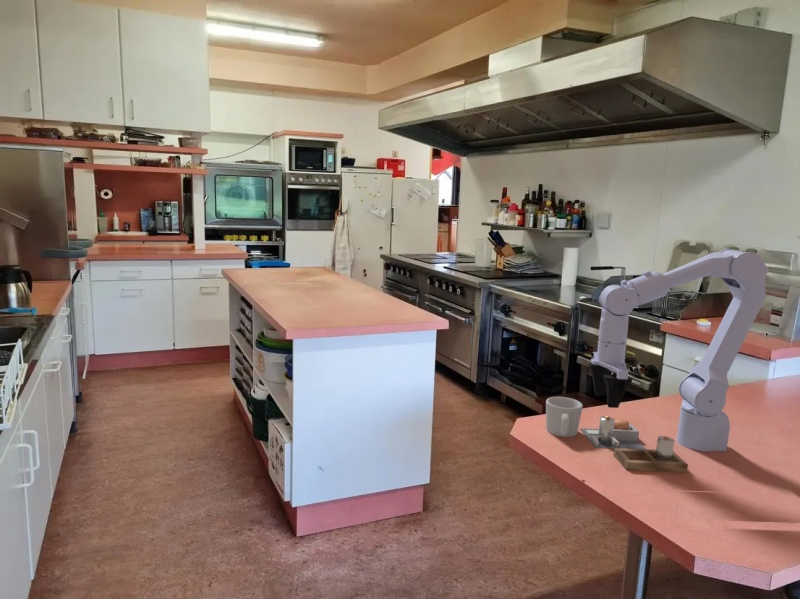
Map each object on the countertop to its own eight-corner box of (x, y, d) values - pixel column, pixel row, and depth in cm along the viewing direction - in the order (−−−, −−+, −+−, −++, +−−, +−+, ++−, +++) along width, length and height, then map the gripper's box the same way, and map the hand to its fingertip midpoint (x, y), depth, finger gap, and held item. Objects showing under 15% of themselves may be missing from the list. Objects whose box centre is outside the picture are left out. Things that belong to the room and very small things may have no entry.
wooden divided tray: (670, 463, 119) (672, 450, 118) (686, 477, 113) (688, 464, 112) (613, 461, 119) (614, 448, 118) (625, 475, 112) (627, 462, 112)
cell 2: (666, 461, 117) (670, 434, 116) (673, 468, 114) (677, 440, 113) (651, 461, 117) (655, 433, 116) (658, 468, 114) (662, 440, 113)
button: (624, 427, 131) (625, 418, 131) (630, 433, 128) (631, 424, 127) (608, 426, 131) (609, 418, 131) (614, 432, 127) (615, 424, 127)
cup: (582, 450, 123) (586, 415, 122) (544, 445, 125) (547, 410, 123) (577, 431, 134) (580, 398, 132) (542, 427, 135) (545, 394, 134)
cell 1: (609, 440, 126) (611, 414, 125) (614, 446, 123) (617, 419, 122) (595, 439, 126) (598, 414, 125) (600, 445, 123) (603, 419, 122)
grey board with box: (626, 435, 133) (627, 421, 132) (646, 454, 122) (647, 439, 122) (578, 433, 132) (580, 419, 132) (594, 453, 122) (596, 437, 122)
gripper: (582, 332, 131) (577, 389, 134) (606, 348, 117) (600, 412, 119) (613, 333, 132) (607, 390, 134) (640, 349, 117) (633, 413, 120)
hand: (606, 401), depth 127 cm, fingers open, 7 cm apart
